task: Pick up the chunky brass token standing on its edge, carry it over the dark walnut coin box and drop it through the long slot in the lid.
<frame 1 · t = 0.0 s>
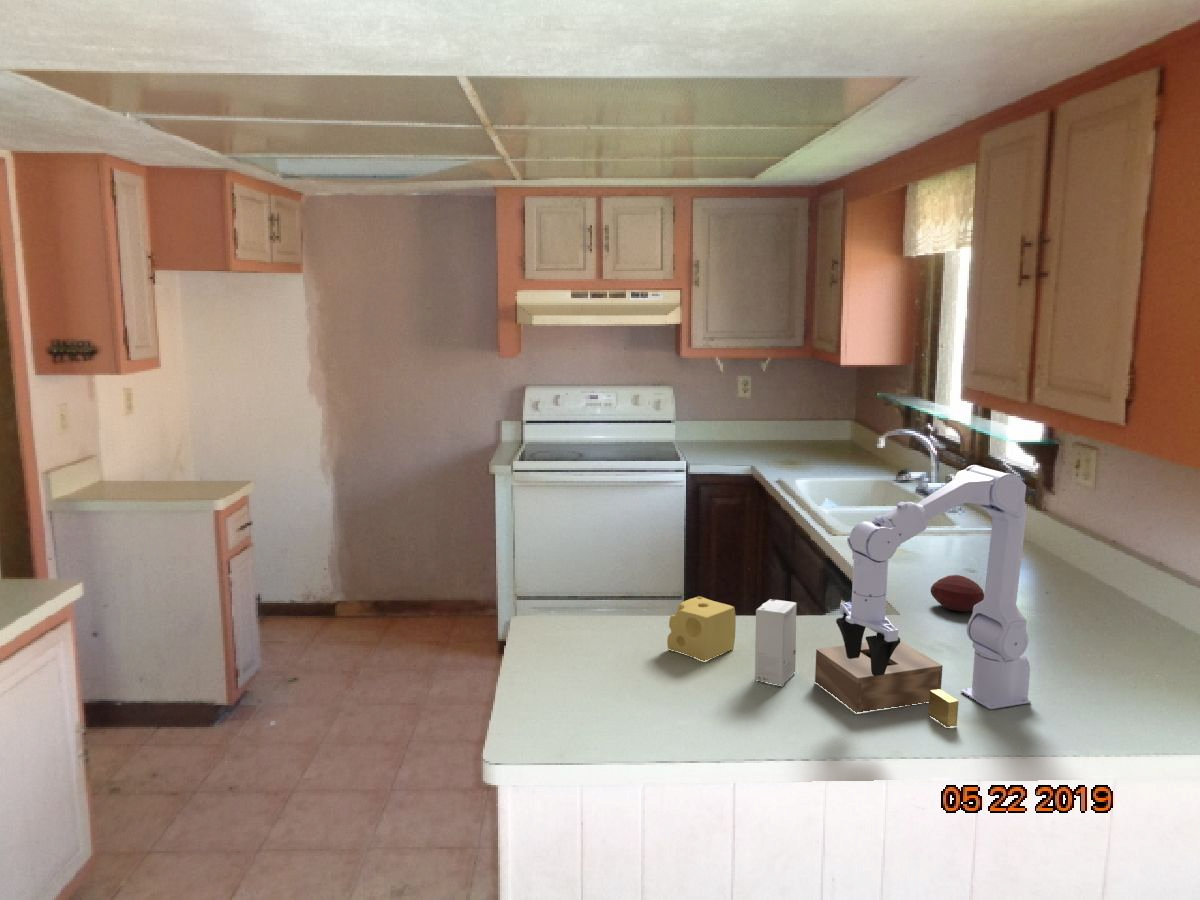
hand: (865, 665, 159), 10 cm above the counter, tool pointing down, fingers open, 7 cm apart
american football: (956, 611, 216), on the counter
skincare box: (774, 678, 178), on the counter
cheese: (702, 651, 192), on the counter
coin box: (876, 692, 172), on the counter
brass token: (942, 722, 160), on the counter
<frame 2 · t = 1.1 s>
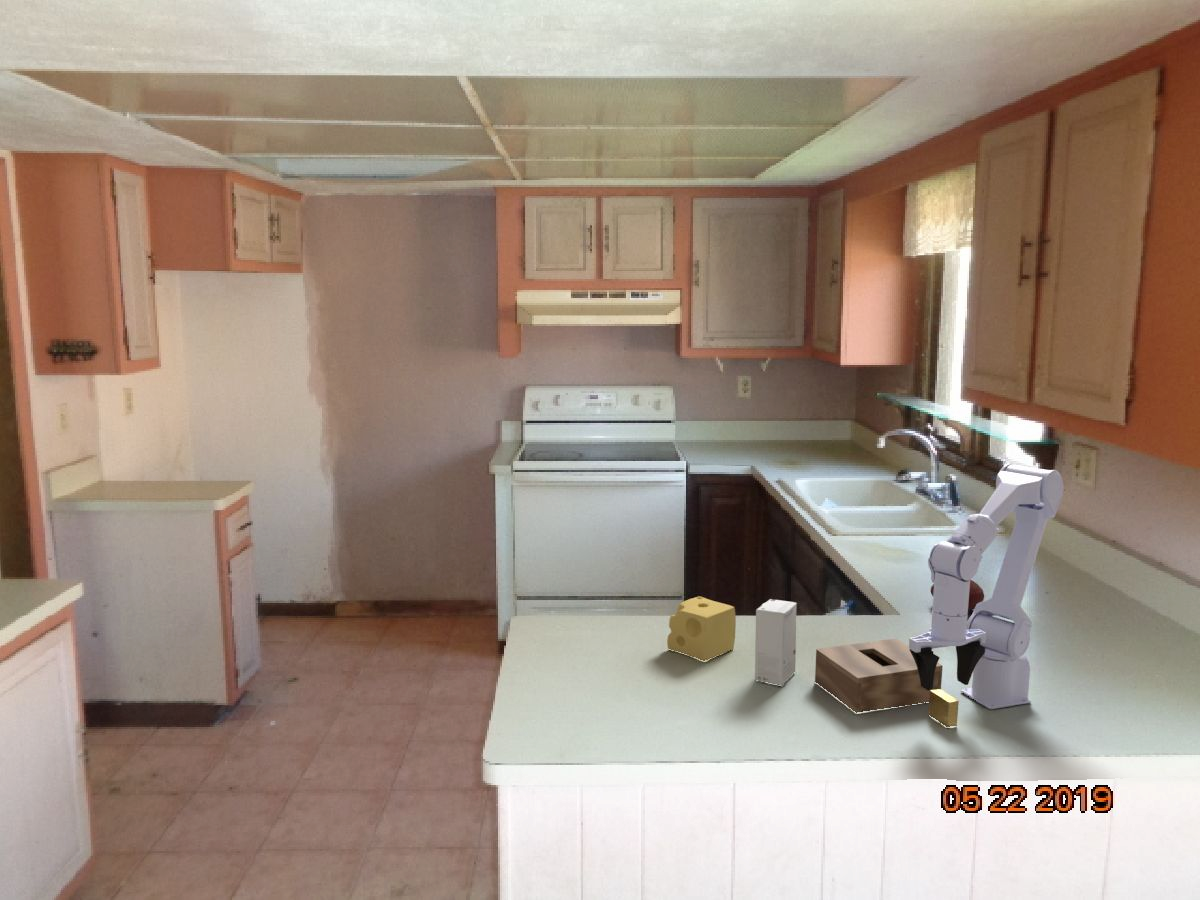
hand: (944, 685, 159), 7 cm above the counter, tool pointing down, fingers open, 7 cm apart
nothing on the counter moved.
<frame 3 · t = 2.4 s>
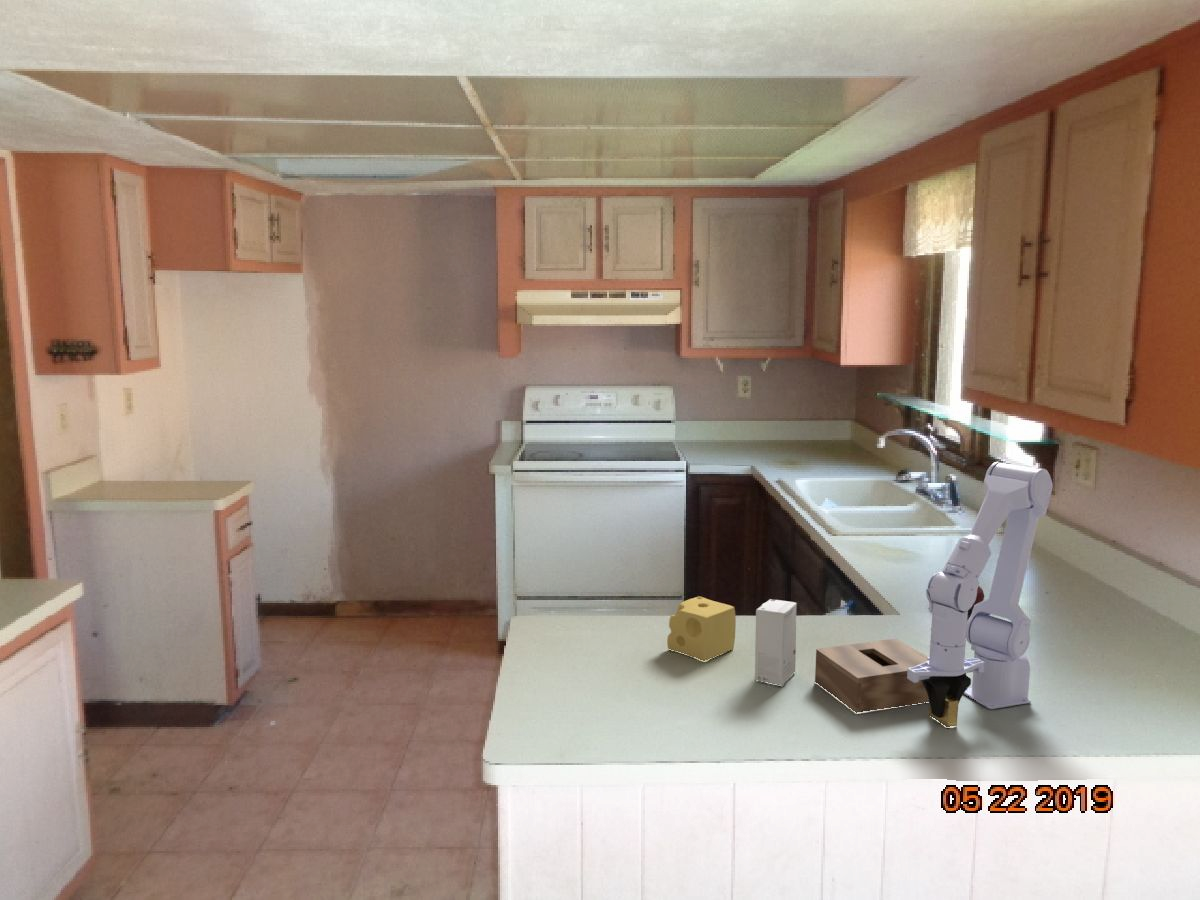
hand: (942, 714, 159), 1 cm above the counter, tool pointing down, fingers closed on brass token, 2 cm apart
brass token: (942, 721, 160), on the counter, touching gripper
everything else where it was.
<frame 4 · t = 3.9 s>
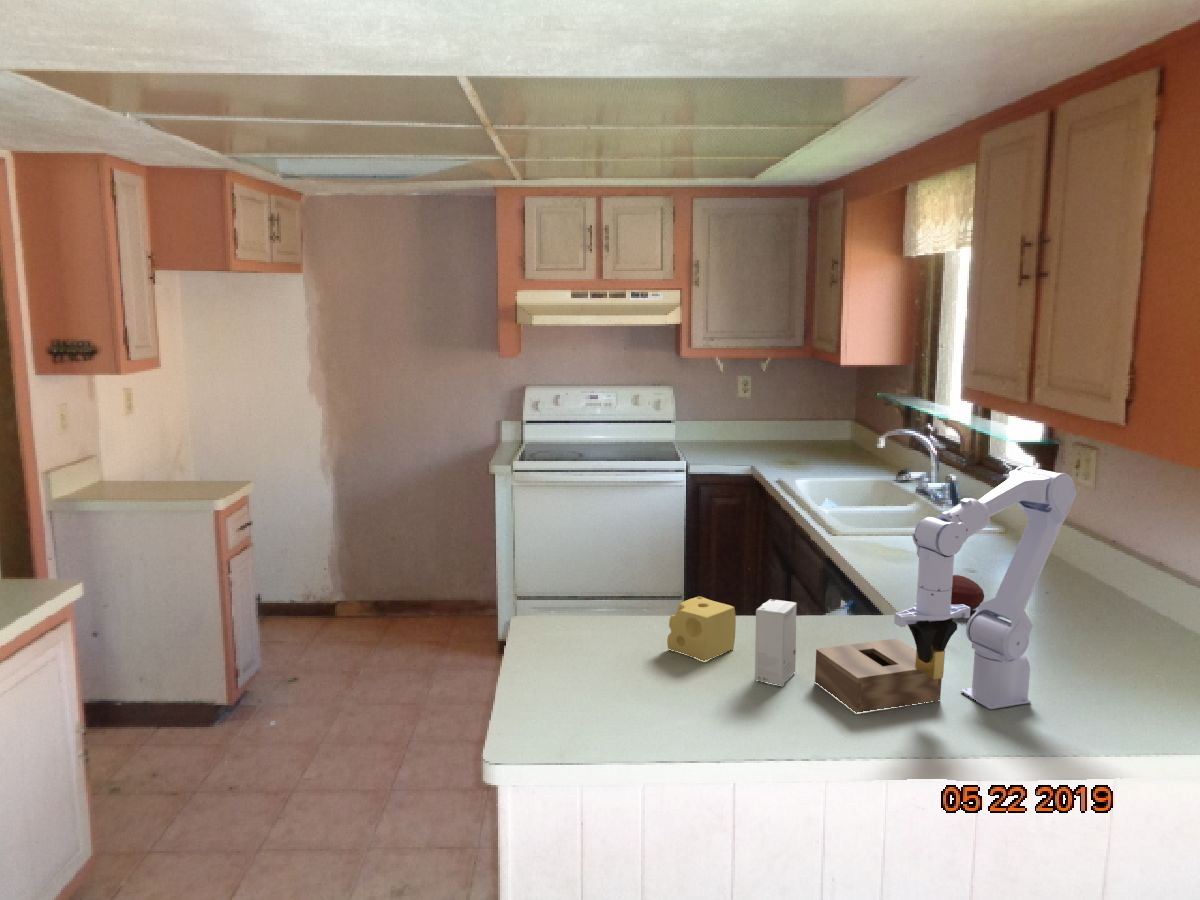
hand: (929, 659, 161), 10 cm above the counter, tool pointing down, fingers closed on brass token
brass token: (928, 672, 161), point 8 cm above the counter, touching gripper
everything else where it was.
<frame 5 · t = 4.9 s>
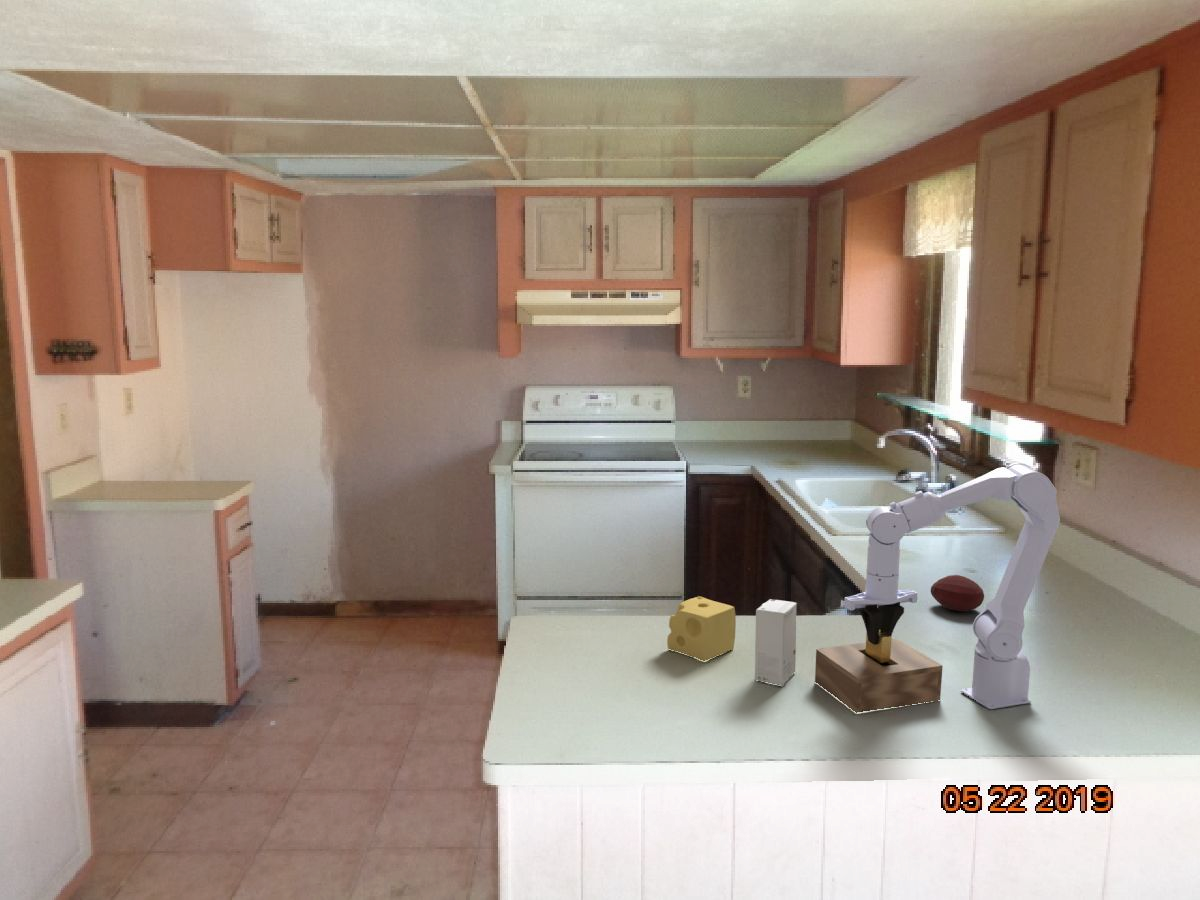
hand: (878, 641, 170), 10 cm above the counter, tool pointing down, fingers closed on brass token
brass token: (877, 656, 171), point 7 cm above the counter, touching gripper
everything else where it was.
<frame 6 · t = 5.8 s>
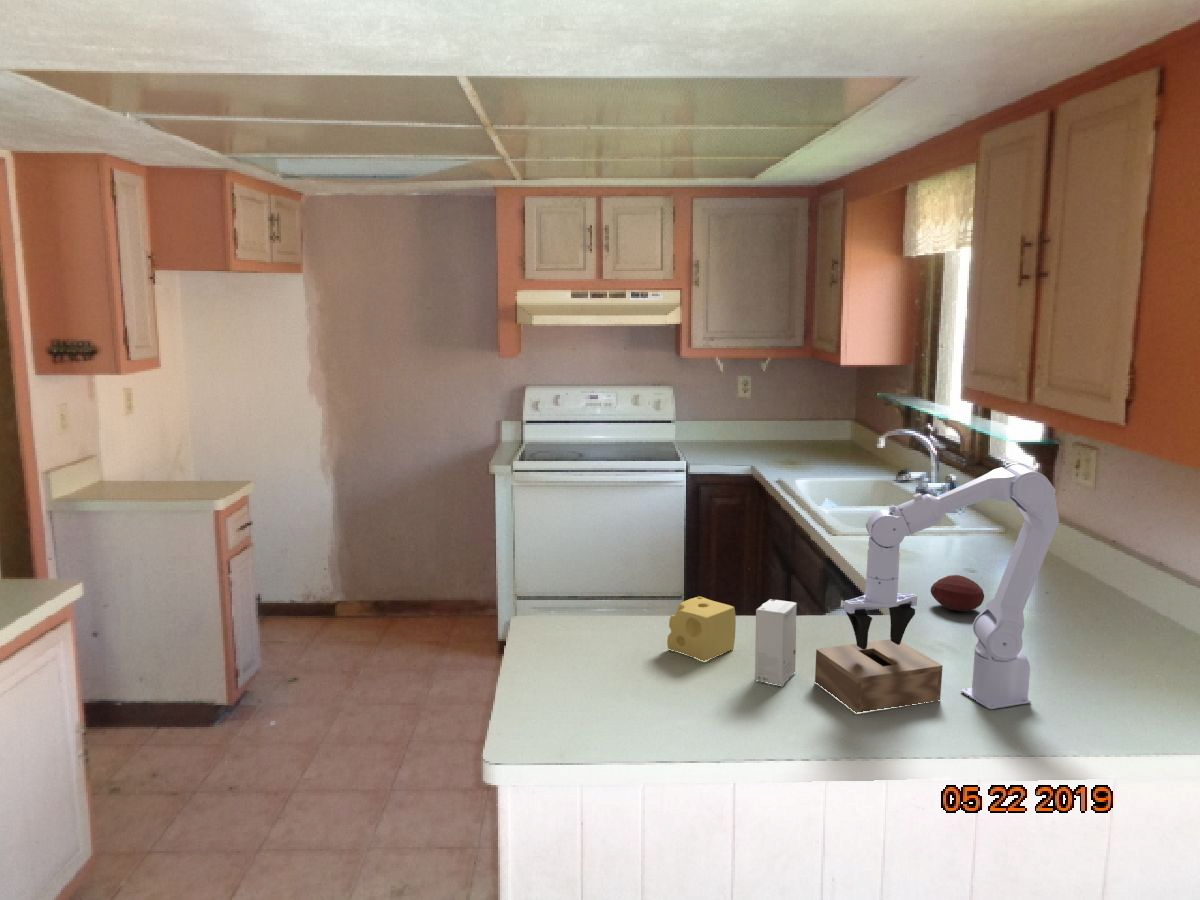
hand: (878, 645, 170), 9 cm above the counter, tool pointing down, fingers open, 7 cm apart
brass token: (876, 692, 172), resting in coin box
everything else where it was.
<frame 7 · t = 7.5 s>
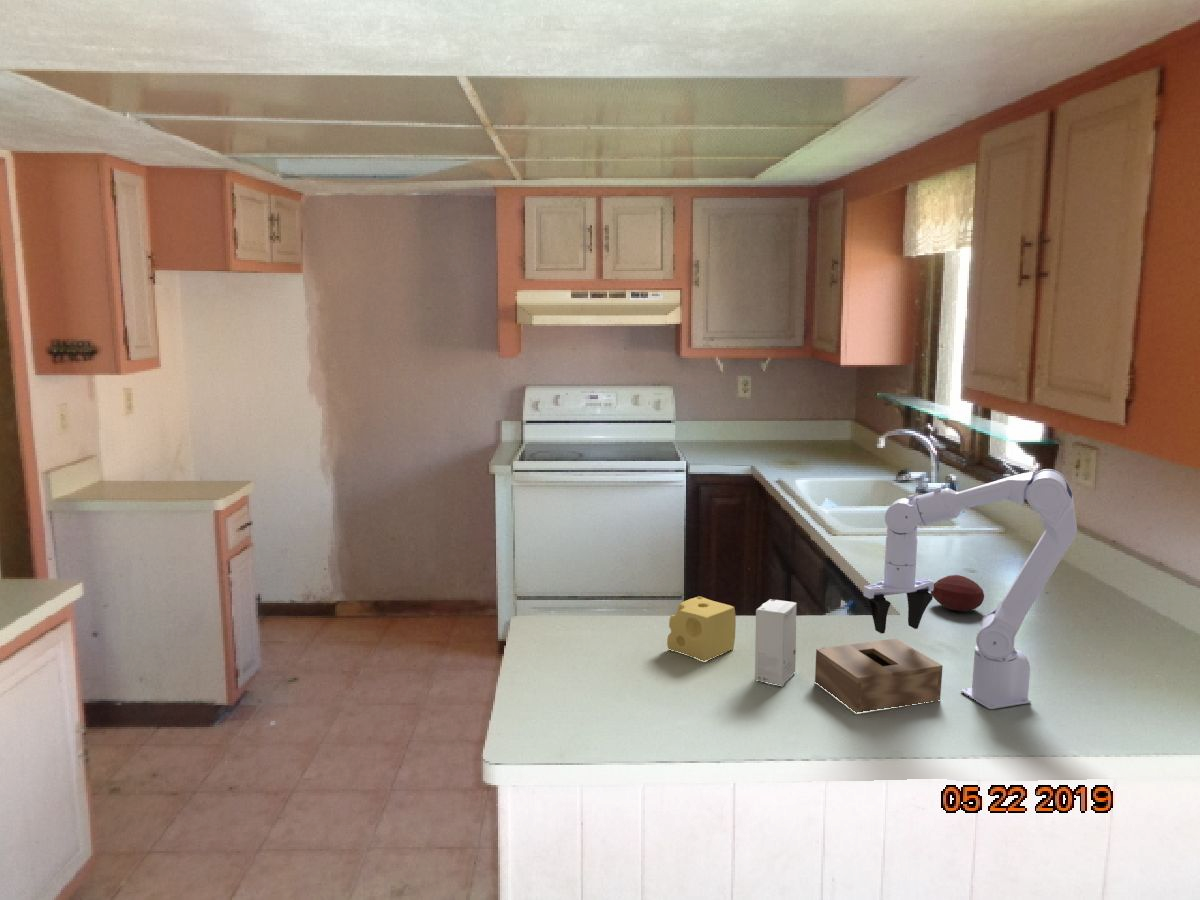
hand: (896, 629, 175), 10 cm above the counter, tool pointing down, fingers open, 7 cm apart
nothing on the counter moved.
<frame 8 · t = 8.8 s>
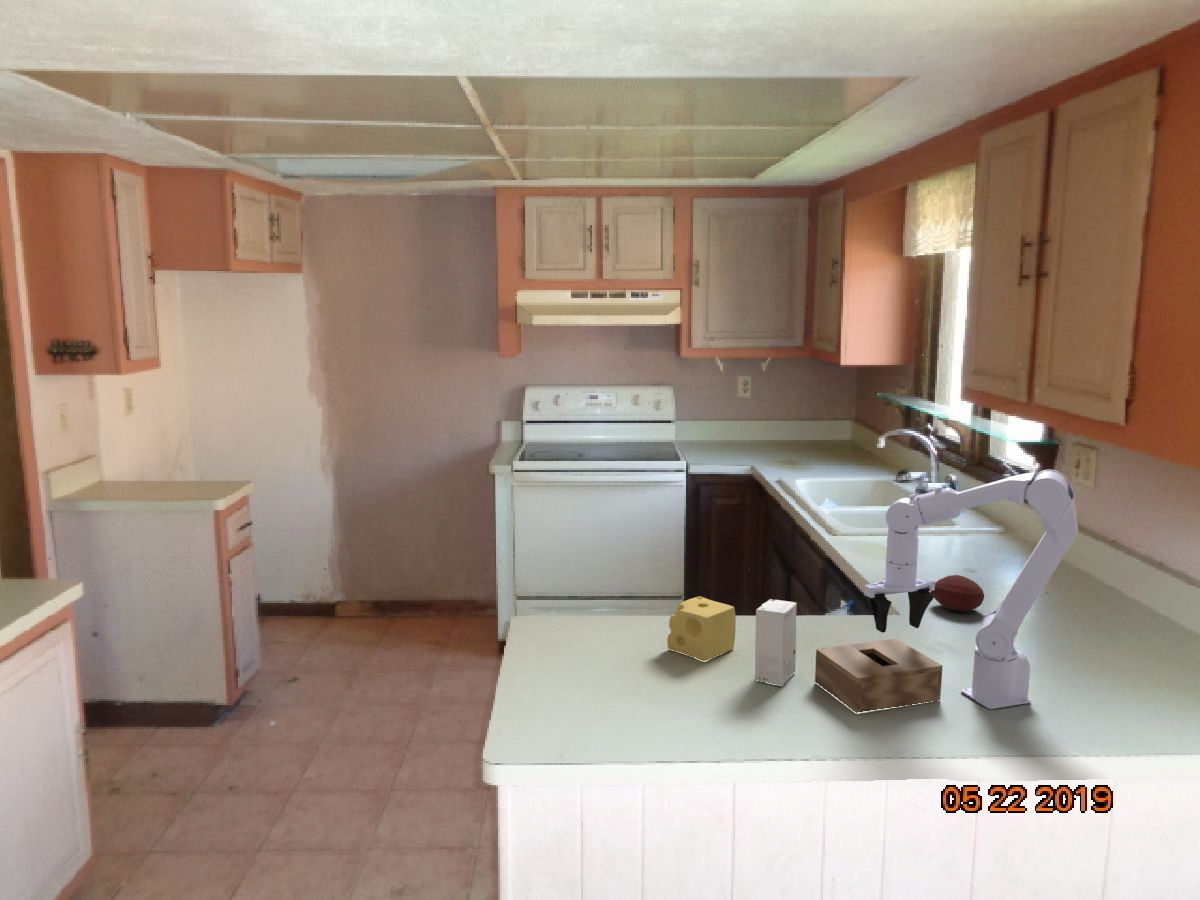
hand: (897, 628, 176), 10 cm above the counter, tool pointing down, fingers open, 7 cm apart
nothing on the counter moved.
at the end: brass token inside the target area on the coin box (0.0 cm from its centre), point 0.0 cm above the coin box's base; the gripper is holding nothing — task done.
